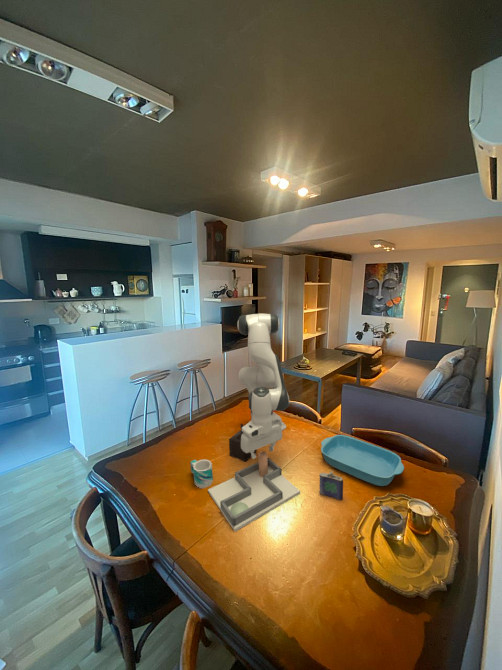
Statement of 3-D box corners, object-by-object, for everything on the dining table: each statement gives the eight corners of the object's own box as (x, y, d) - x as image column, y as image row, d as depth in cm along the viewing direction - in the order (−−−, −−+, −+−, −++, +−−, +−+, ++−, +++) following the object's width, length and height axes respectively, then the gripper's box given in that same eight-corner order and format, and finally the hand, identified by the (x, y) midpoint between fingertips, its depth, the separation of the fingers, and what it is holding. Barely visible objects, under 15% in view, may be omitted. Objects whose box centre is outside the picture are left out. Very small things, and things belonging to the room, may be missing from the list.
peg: (264, 470, 125) (263, 450, 124) (269, 475, 122) (269, 454, 120) (257, 473, 123) (256, 453, 122) (262, 478, 120) (261, 458, 118)
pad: (242, 500, 108) (242, 499, 108) (252, 512, 103) (252, 511, 102) (227, 508, 105) (227, 507, 105) (236, 521, 99) (236, 520, 99)
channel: (267, 464, 131) (267, 456, 131) (300, 493, 112) (300, 484, 112) (208, 492, 115) (207, 483, 114) (234, 531, 96) (234, 521, 95)
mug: (201, 491, 116) (199, 473, 114) (186, 477, 124) (184, 461, 123) (216, 481, 121) (215, 464, 120) (201, 469, 130) (199, 453, 128)
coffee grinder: (247, 462, 133) (245, 428, 130) (229, 455, 139) (227, 423, 136) (263, 446, 146) (262, 415, 143) (246, 440, 152) (244, 410, 149)
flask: (318, 494, 111) (319, 471, 109) (320, 489, 114) (320, 467, 112) (342, 501, 107) (343, 477, 106) (343, 496, 110) (344, 472, 108)
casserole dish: (312, 462, 132) (312, 448, 131) (333, 441, 148) (333, 429, 147) (394, 500, 107) (395, 484, 106) (408, 471, 124) (410, 456, 122)
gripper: (276, 416, 126) (276, 443, 128) (238, 428, 115) (239, 458, 118) (285, 421, 121) (285, 449, 123) (246, 435, 110) (247, 466, 112)
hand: (262, 454), depth 120 cm, fingers open, 8 cm apart
